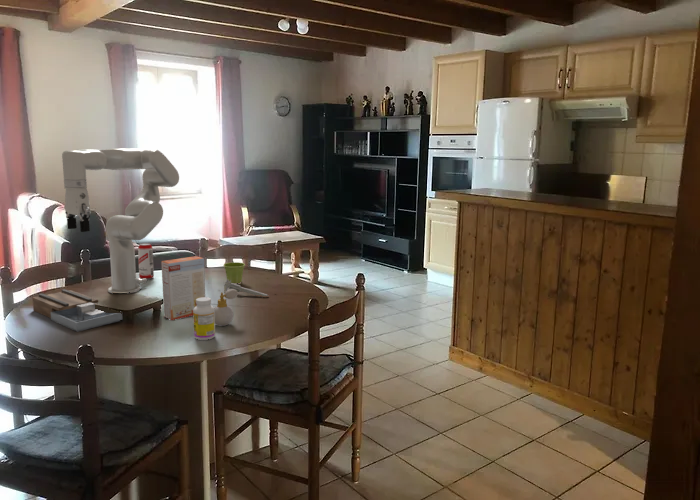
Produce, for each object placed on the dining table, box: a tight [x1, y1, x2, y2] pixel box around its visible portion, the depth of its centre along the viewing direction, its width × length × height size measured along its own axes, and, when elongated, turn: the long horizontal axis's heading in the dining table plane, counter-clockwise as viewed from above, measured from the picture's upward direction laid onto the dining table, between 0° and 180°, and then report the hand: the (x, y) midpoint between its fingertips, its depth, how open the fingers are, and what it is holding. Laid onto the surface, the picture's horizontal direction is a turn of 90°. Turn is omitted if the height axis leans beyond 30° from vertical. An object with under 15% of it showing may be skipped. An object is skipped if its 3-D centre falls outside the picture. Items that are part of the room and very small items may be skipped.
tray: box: [50, 307, 123, 333], centre depth 194 cm, size 16×18×3 cm
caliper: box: [223, 279, 269, 296], centre depth 230 cm, size 20×1×6 cm, turn 75°
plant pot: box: [222, 261, 246, 283], centre depth 249 cm, size 9×9×9 cm
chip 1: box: [77, 302, 96, 321], centre depth 194 cm, size 5×5×3 cm
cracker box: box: [160, 255, 206, 321], centre depth 200 cm, size 14×6×21 cm, turn 135°
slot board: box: [31, 288, 99, 319], centre depth 202 cm, size 14×20×6 cm
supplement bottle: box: [192, 296, 216, 341], centre depth 179 cm, size 7×7×13 cm
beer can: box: [137, 242, 155, 281], centre depth 253 cm, size 6×6×16 cm
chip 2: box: [84, 309, 106, 321], centre depth 192 cm, size 5×5×3 cm
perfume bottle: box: [214, 288, 239, 327], centre depth 193 cm, size 8×10×12 cm
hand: (78, 230), depth 210 cm, fingers open, 9 cm apart
